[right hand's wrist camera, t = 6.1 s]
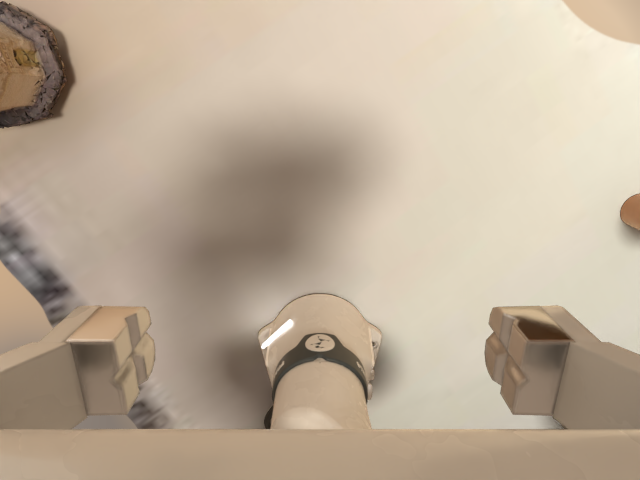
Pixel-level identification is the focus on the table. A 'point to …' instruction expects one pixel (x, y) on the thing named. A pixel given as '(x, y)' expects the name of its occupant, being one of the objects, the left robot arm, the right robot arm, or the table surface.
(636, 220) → the tan tall cylinder
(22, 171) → the table surface
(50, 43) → the miniature building
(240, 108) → the table surface
